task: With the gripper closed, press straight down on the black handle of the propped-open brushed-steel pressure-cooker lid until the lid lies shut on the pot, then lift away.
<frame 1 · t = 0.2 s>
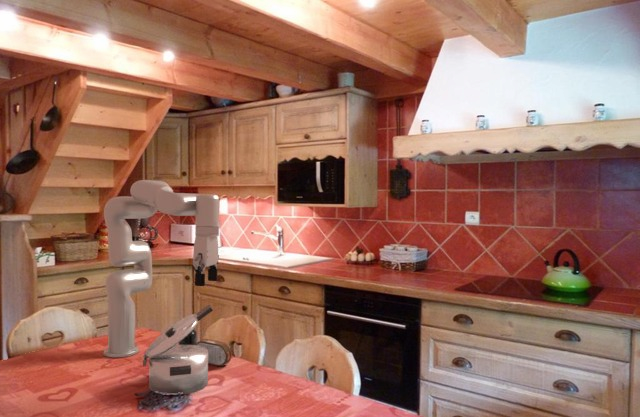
hand: (206, 283, 154), 32 cm above the table, tool pointing down, fingers open, 9 cm apart
cooker lid: (177, 329, 148), point 18 cm above the table, hinge at 35.0°
supplement bottle: (187, 355, 177), on the table
tin: (212, 364, 168), on the table
cooker pot: (179, 384, 149), on the table
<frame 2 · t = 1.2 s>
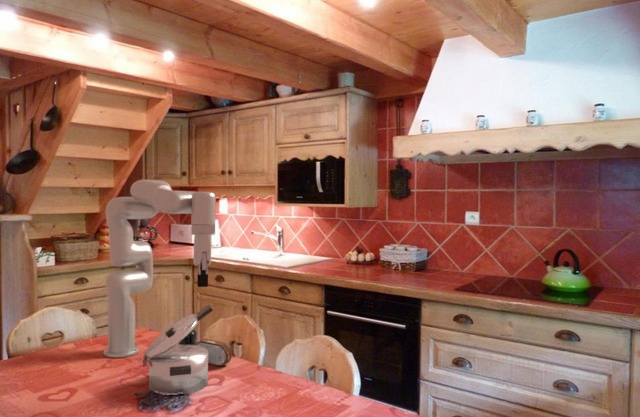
hand: (202, 286, 151), 31 cm above the table, tool pointing down, fingers closed
nothing on the table moved.
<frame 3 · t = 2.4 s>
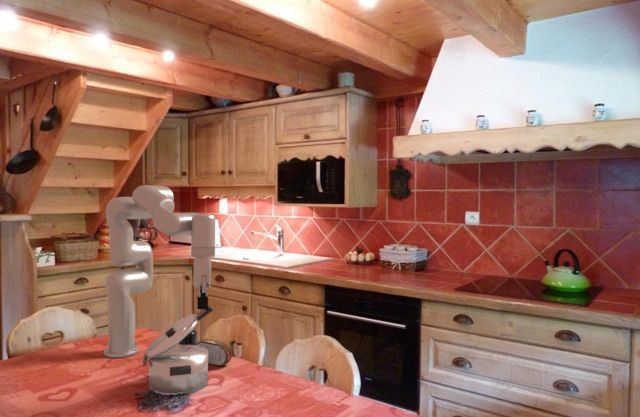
hand: (202, 308, 151), 24 cm above the table, tool pointing down, fingers closed
cooker lid: (177, 329, 148), point 18 cm above the table, hinge at 35.0°, touching gripper
everything else where it was.
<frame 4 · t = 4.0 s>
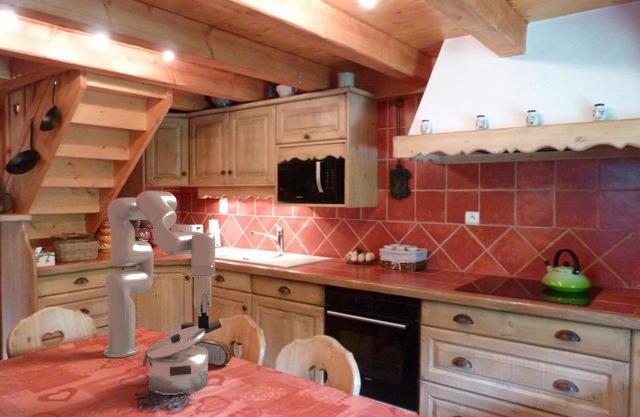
hand: (203, 327, 150), 18 cm above the table, tool pointing down, fingers closed
cooker lid: (182, 336, 149), point 15 cm above the table, hinge at 20.0°, touching gripper
everything else where it was.
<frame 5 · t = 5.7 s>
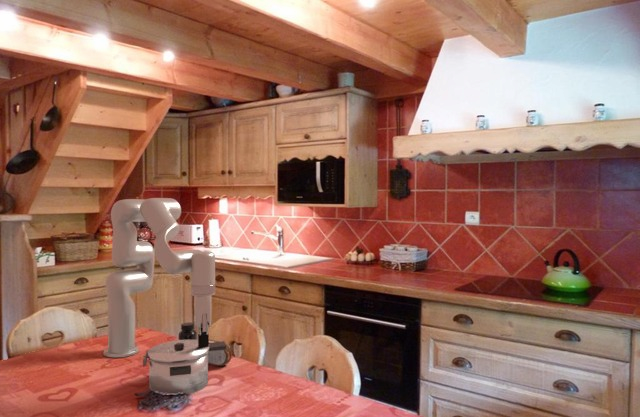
hand: (203, 346, 150), 12 cm above the table, tool pointing down, fingers closed
cooker lid: (186, 347, 149), point 12 cm above the table, hinge at 1.9°, touching gripper
everything else where it was.
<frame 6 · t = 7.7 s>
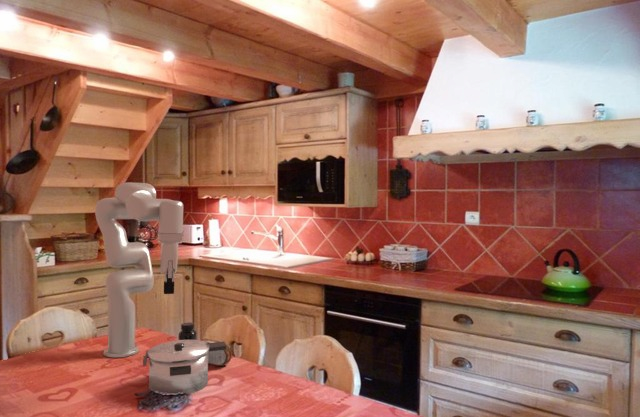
hand: (168, 293, 153), 28 cm above the table, tool pointing down, fingers closed
cooker lid: (186, 347, 149), point 12 cm above the table, hinge at 1.8°
everything else where it was.
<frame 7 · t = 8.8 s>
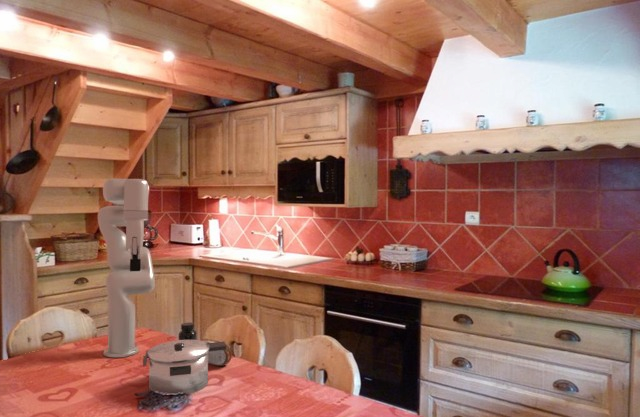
hand: (135, 270, 155), 35 cm above the table, tool pointing down, fingers closed
nothing on the table moved.
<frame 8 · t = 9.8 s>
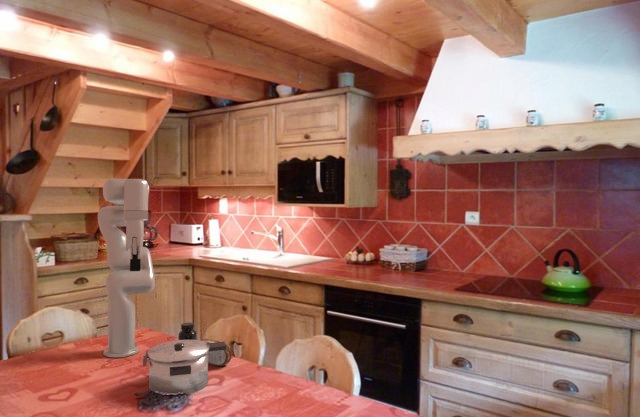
hand: (135, 270, 155), 35 cm above the table, tool pointing down, fingers closed
nothing on the table moved.
at the end: cooker lid at +2° (first picture: +35°); tin moved 0.3 cm from its start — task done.
